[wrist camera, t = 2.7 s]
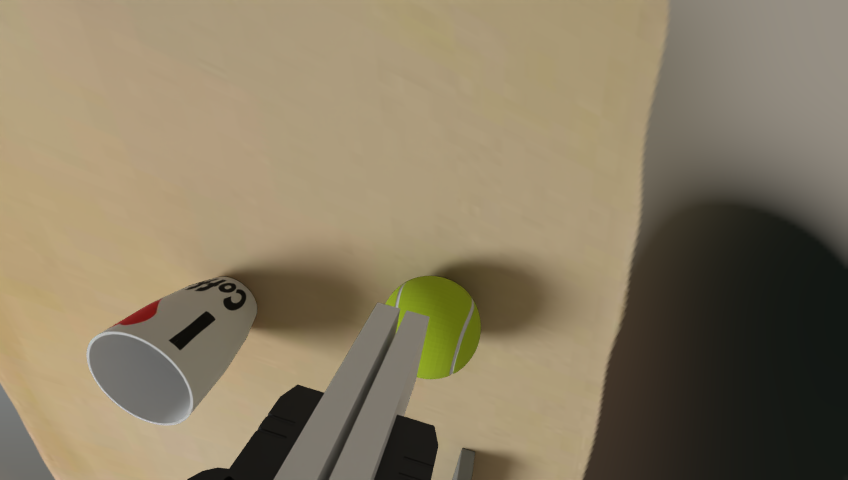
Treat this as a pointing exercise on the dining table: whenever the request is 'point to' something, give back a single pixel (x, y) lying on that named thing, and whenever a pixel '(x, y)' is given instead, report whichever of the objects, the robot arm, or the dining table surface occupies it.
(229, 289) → the cup
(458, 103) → the dining table surface
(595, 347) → the dining table surface
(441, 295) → the tennis ball
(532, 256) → the dining table surface
